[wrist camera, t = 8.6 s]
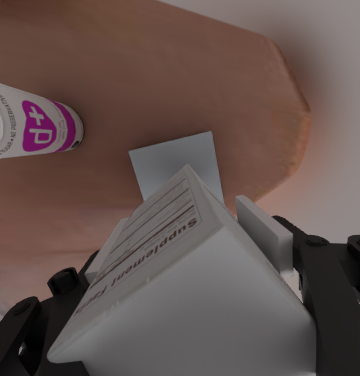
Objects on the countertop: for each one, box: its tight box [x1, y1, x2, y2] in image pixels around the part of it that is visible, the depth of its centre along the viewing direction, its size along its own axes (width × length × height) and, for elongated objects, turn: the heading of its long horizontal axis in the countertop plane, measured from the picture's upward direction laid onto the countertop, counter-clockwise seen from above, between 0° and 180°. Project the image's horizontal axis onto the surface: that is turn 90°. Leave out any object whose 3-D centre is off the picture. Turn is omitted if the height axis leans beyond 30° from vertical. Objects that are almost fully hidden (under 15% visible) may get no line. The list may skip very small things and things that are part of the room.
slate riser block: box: [128, 131, 224, 204], centre depth 32 cm, size 14×14×5 cm
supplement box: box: [47, 164, 316, 376], centre depth 11 cm, size 7×7×13 cm
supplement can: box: [0, 83, 84, 158], centre depth 24 cm, size 8×8×15 cm
